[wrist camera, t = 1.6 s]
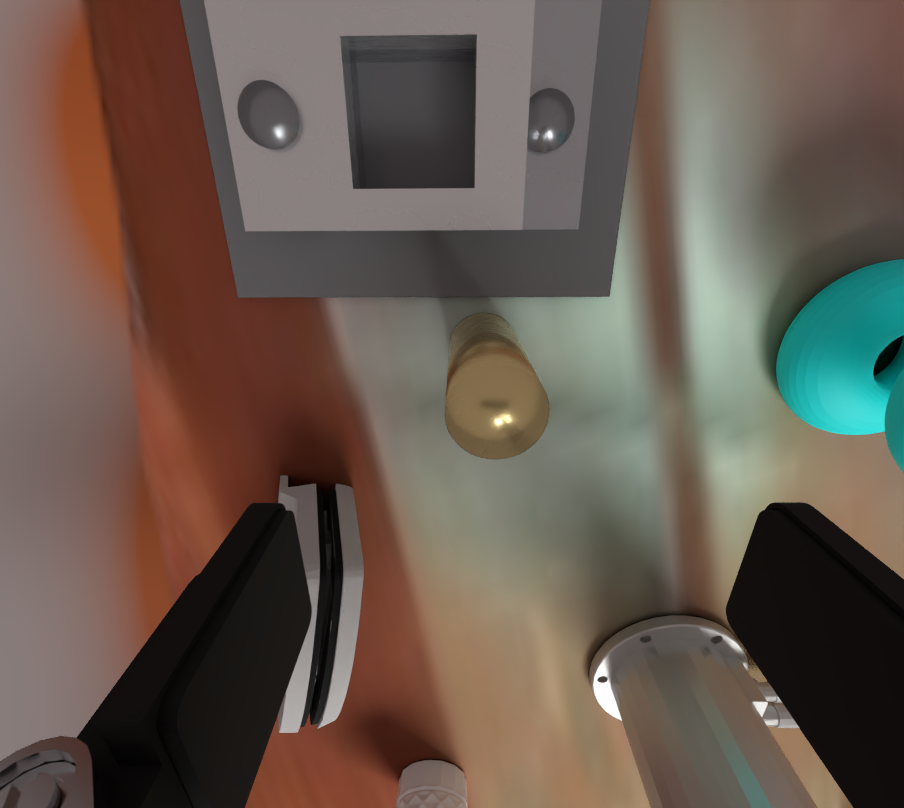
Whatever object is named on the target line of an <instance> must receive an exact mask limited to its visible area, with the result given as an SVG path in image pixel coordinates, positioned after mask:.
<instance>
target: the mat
mask: <svg viewBox="0 0 904 808" xmlns="http://www.w3.org/2000/svg"><path fill="white" fill-rule="evenodd" d="M649 2H650V0H602V6H601V16H600V26H599V36H598V45H597V55H596V65H595V74H594V84H593V94H592V104H591V113H590V123H589V133H588V143H587V152H586V162H585V172H584V182H583V191H582V201H581V211H580V221H579V229H562V230H409V231H245V227H244V221H243V215H242V210H241V204H240V199H239V193H238V188H237V182H236V176H235V171H234V165H233V160H232V154H231V149H230V143H229V137H228V132H227V126H226V121H225V115H224V110H223V104H222V98H221V93H220V87H219V82H218V76H217V71H216V65H215V59H214V54H213V48H212V43H211V37H210V32H209V26H208V20H207V15H206V9H205V4H204V0H180V4H181V9H182V15H183V20H184V25H185V30H186V35H187V40H188V45H189V50H190V55H191V60H192V65H193V70H194V76H195V81H196V86H197V91H198V96H199V101H200V106H201V111H202V116H203V121H204V126H205V132H206V137H207V142H208V147H209V152H210V157H211V162H212V167H213V172H214V177H215V182H216V188H217V193H218V198H219V203H220V208H221V213H222V218H223V223H224V228H225V233H226V238H227V244H228V249H229V254H230V259H231V264H232V269H233V274H234V279H235V284H236V289H237V294H238V298H241V297H602V296H610V288H611V281H612V274H613V266H614V259H615V252H616V244H617V237H618V230H619V222H620V215H621V208H622V200H623V193H624V186H625V178H626V171H627V164H628V156H629V149H630V142H631V134H632V127H633V120H634V112H635V105H636V98H637V90H638V83H639V76H640V68H641V61H642V54H643V46H644V39H645V32H646V24H647V17H648V10H649ZM357 75H358V89H359V102H360V116H361V129H362V142H363V156H364V169H365V183H366V189H426V188H473V120H474V61H465V62H372V63H357Z"/></svg>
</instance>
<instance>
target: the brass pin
mask: <svg viewBox="0 0 904 808" xmlns="http://www.w3.org/2000/svg"><path fill="white" fill-rule="evenodd" d="M548 418H549V402H548V398H547V395H546V393H545V390H544V388H543V387H542V385H541V383H540V381H539V379H538V377H537V375H536V373H535V371H534V370H533V368H532V366H531V364H530V362H529V360H528V358H527V356H526V354H525V353H524V351H523V349H522V347H521V345H520V343H519V341H518V339H517V337H516V336H515V334H514V332H513V330H512V328H511V327H510V325H509V324H508V323H507V322H506V321H505V320H504V319H502V318H501V317H499V316H497V315H494V314H490V313H478V314H474V315H471V316H469V317H467V318H465V319H464V320H462V321H461V322H460V323H459V324H458V325H457V326H456V328H455V329H454V331H453V333H452V336H451V339H450V348H449V362H448V376H447V390H446V405H445V420H446V425H447V428H448V430H449V433H450V434H451V436H452V438H453V439H454V440H455V442H456V443H457V444H458V445H459V446H460V447H461V448H463V449H464V450H465V451H467V452H469V453H470V454H473V455H475V456H478V457H481V458H486V459H505V458H510V457H513V456H516V455H518V454H521V453H522V452H524V451H526V450H527V449H529V448H530V447H531V446H532V445H534V444H535V443H536V442H537V440H538V439H539V438H540V437H541V435H542V434H543V432H544V430H545V428H546V425H547V422H548Z"/></svg>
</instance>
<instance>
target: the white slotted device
mask: <svg viewBox="0 0 904 808" xmlns="http://www.w3.org/2000/svg"><path fill="white" fill-rule="evenodd" d="M278 503H282V504H283V505H284V506H285V508H286V510H291V511H292V512H293V513H294V516H295V521H296V526H297V532H298V537H299V542H300V547H301V553H302V558H303V563H304V568H305V574H306V579H307V584H308V590H309V595H310V600H311V606H312V616H311V622H310V626H309V629H308V632H307V634H306V637H305V640H304V643H303V646H302V648H301V651H300V654H299V657H298V660H297V662H296V665H295V668H294V671H293V674H292V676H291V679H290V682H289V685H288V688H287V690H286V693H285V696H284V699H283V702H282V704H281V707H280V710H279V733H298V730H299V728H300V727H304V726H305V724H306V721H307V718H308V715H309V712H310V722H311V725H313V724H317V728H320V727H322V726H324V725H326V724H328V723H331V722H333V721H335V720H336V718H337V717H338V715H339V713H340V711H341V708H342V706H343V703H344V700H345V697H346V693H347V689H348V684H349V680H350V676H351V671H352V665H353V660H354V653H355V647H356V640H357V633H358V625H359V618H360V608H361V598H362V587H363V577H364V567H363V557H362V549H361V542H360V535H359V528H358V521H357V514H356V507H355V500H354V493H353V488H352V487H349V486H347V485H342V484H337V483H336V486H335V489H331V490H329V496H328V503H327V510H325V511H324V507H323V491H322V490H316V484H309V485H302V486H295V487H288V476H287V475H280V486H279V497H278Z"/></svg>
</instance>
